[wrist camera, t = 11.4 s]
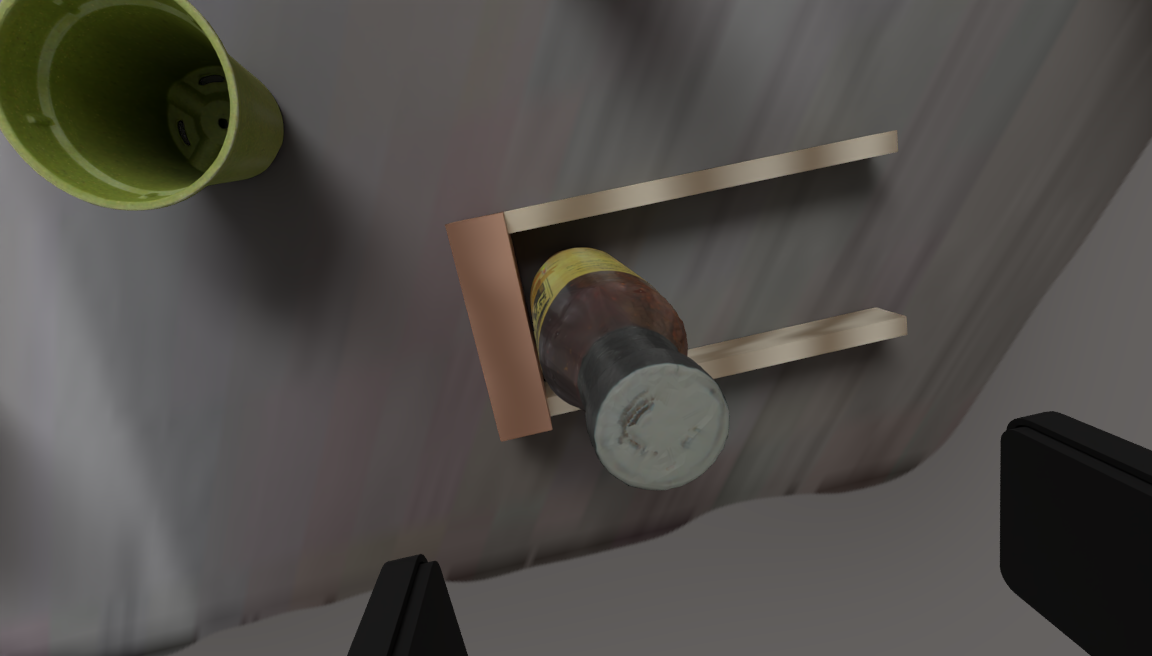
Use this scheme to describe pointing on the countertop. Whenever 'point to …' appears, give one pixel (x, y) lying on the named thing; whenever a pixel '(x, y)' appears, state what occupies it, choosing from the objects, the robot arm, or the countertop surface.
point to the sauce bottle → (626, 370)
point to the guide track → (488, 240)
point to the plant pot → (129, 101)
